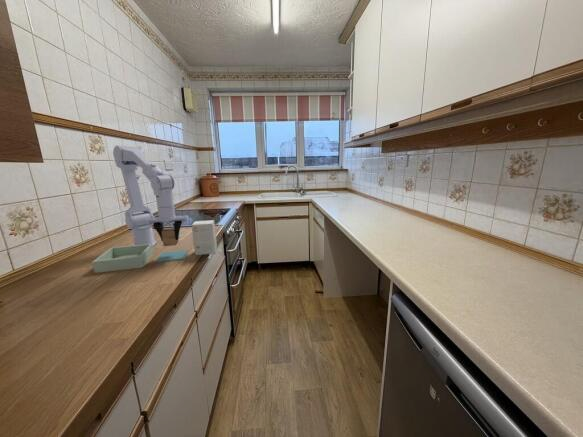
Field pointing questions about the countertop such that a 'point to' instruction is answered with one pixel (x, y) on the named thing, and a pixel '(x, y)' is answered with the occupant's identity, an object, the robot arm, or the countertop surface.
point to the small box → (204, 237)
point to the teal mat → (172, 256)
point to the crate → (123, 258)
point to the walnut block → (169, 237)
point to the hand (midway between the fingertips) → (170, 240)
